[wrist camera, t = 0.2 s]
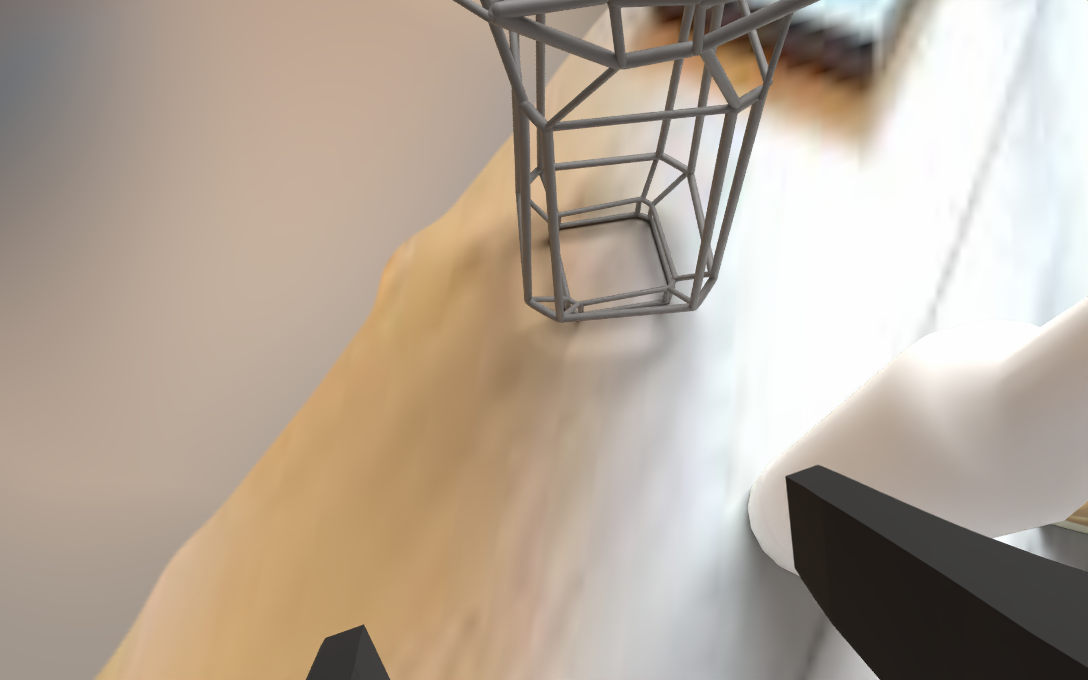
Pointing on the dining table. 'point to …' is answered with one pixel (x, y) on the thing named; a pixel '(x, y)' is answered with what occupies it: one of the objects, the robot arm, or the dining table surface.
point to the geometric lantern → (507, 9)
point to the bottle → (956, 432)
